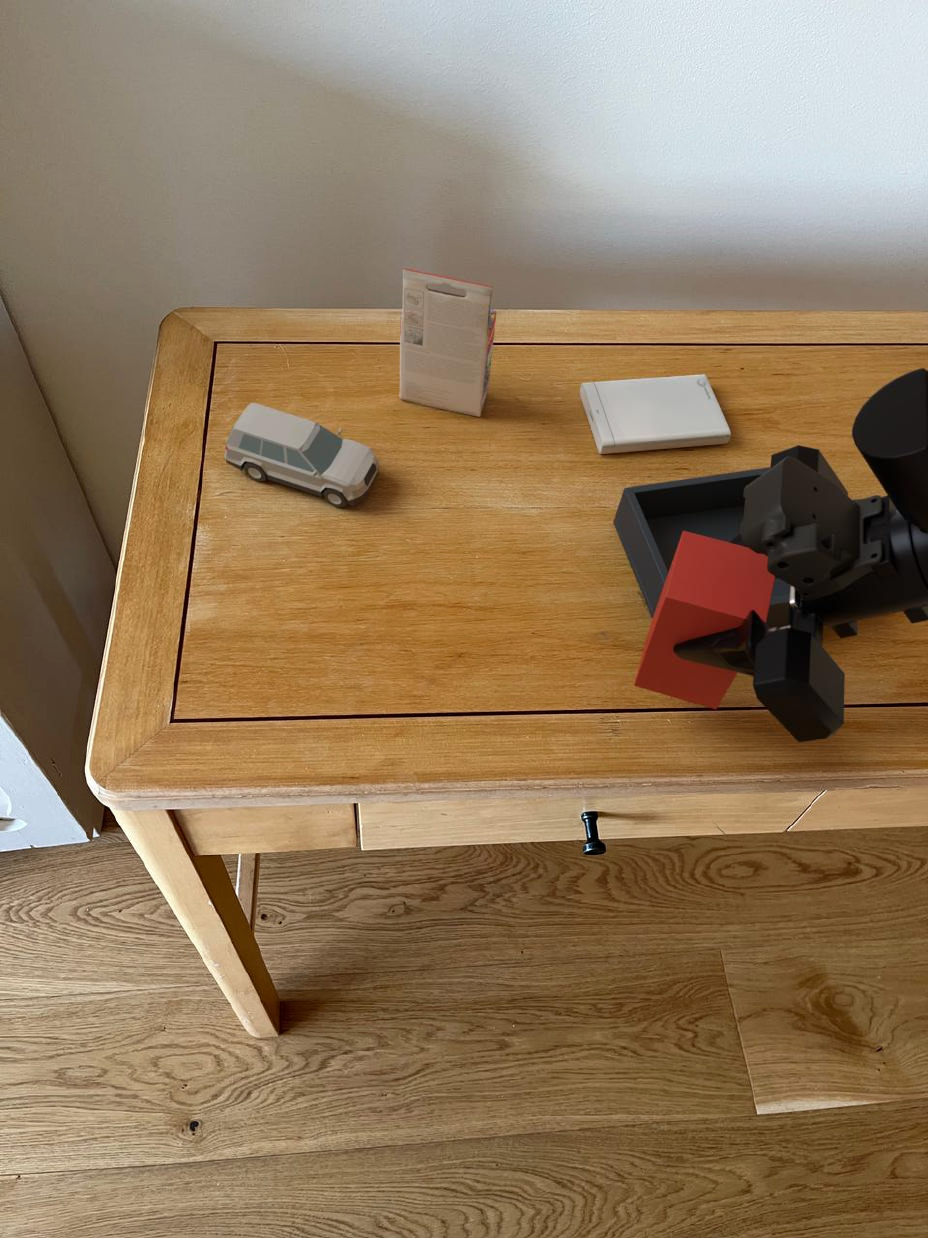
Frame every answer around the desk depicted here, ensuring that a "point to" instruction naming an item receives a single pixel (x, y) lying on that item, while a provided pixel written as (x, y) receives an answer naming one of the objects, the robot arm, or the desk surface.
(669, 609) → the package
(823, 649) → the robot arm
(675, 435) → the hard drive
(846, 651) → the desk surface
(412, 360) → the ink box
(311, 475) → the toy car
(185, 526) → the desk surface
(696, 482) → the dark gray tray
